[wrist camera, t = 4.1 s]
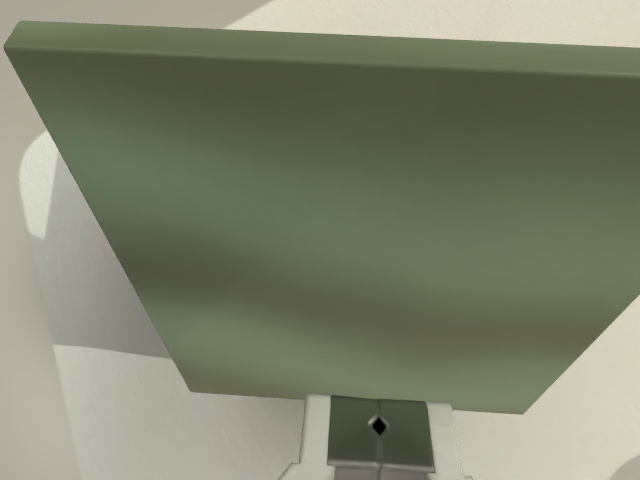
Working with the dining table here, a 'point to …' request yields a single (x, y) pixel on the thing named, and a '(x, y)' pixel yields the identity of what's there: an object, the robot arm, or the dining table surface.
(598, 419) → the dining table surface
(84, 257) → the dining table surface
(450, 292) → the lid
